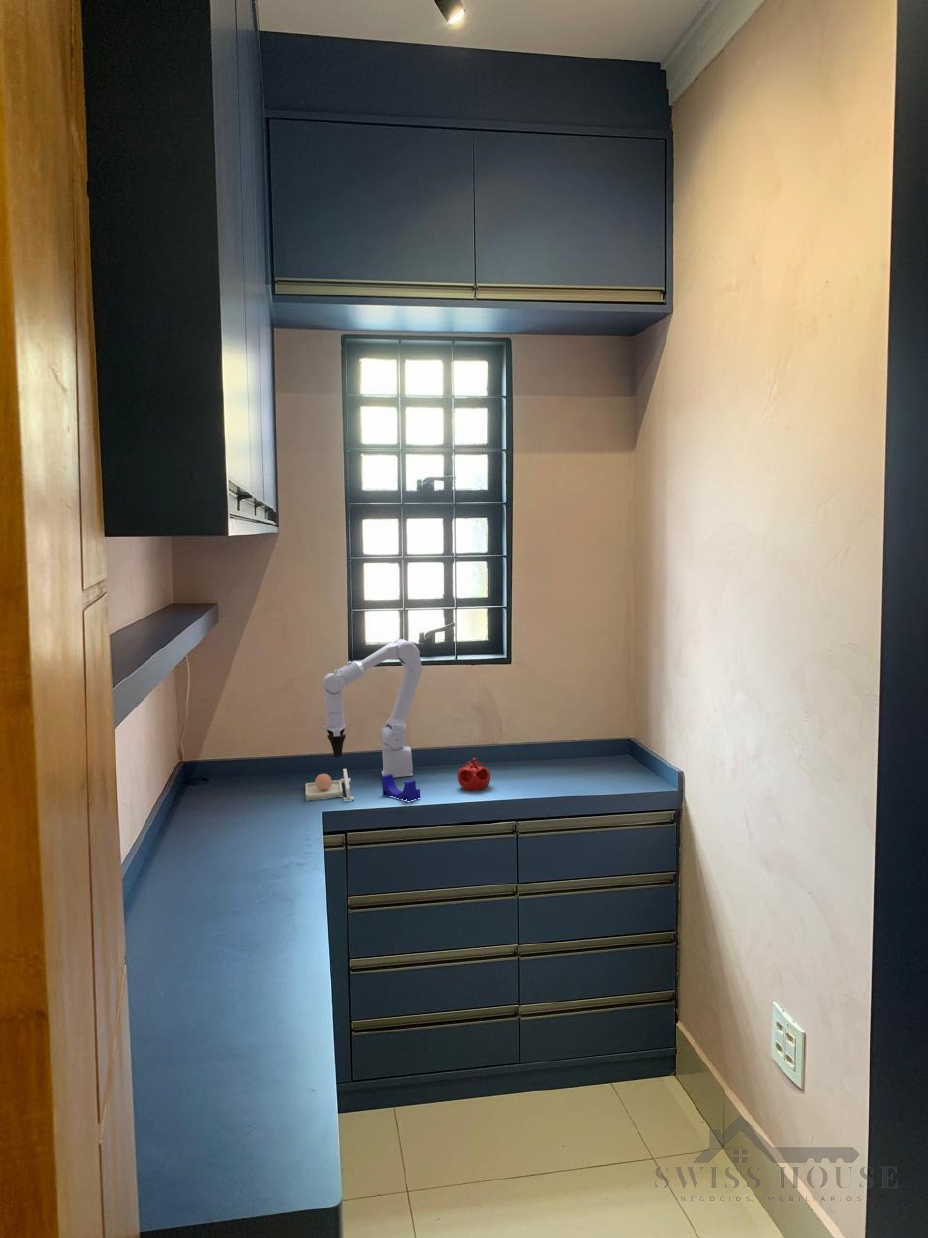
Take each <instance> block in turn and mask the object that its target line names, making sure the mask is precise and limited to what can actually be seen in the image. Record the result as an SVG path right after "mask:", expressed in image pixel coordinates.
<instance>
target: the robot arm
mask: <svg viewBox="0 0 928 1238" xmlns="http://www.w3.org/2000/svg"><path fill="white" fill-rule="evenodd" d="M420 655H421V653H420V650H419V648H418V647H417V646H416V644H415V643H414V642H411V641H408V640H406V639H403V638H398V639H396V640H394V641H392V642H389V643H387V644H386V645H385V646H383V647H381V648H379V649H377V650H376V651H375V652H373V653H372V654H370V655H368V656H367V657H365V658H364V659H362V660H361V661H357V660H353V661H351V660H349V661H347V662H346V665H344V666H342V667H340V668H339V669H334V670H333V672H331V673H330V672H329V673H327V674H326V675H325V676H324V678H322V682H321V685H322V687H323V689H324V706H325V720H326V721H325V723H326V725H325V724H324V725H322V729H323V730H326V731H327V734H328V735H327V739H328V740H329V742H330V745H331V749H332V753H333V757H334V758H341V757H342V755H343V747H344V741H345V739H346V736H347V735H346V734H344V732H345V729H346V727H347V726H346V722H345V710H344V709H345V706H344V695H343V690H344V688H345V687H347V686H349V685H350V684H352V683H354V682H356V681H357V680H359V679H361V678H363V677H364V675H365V671H368V670H369V669H371V668H373V667H375V666H377V665H379V664H381V663H382V662H385V661H387V660H394V661H395V660H399V661H400V662H399V663H401V665H402V667H403V668H404V671H405V672H404V674H403V677H402V680H401V683H400V686H399V690H398V693H397V696H396V699H395V703H394V705H393V708H392V711H391V715H390V716H389V718H388V719H387V720H386V722H385V724H384V726H383V727H382V728H381V729H380V732H379V738H380V740H381V742H383V745H382V746H381V750H382V766H383V770H381V775H382V776H384V775H388V774H392V775H393V779H394V778H403V777H404V778H405V777H411V776H414V773H413V771H414V770H413V767H414V765H413V759H412V758H413V756H412V755H413V754H412V748H411V746H405V744H406V730H407V719H408V715H409V713H410V710H411V707H412V703H413V700H414V697H415V695H416V691H417V688H418V684H419V681H420V679H421V675H422V672H423V666H422V660H421V657H420Z"/></svg>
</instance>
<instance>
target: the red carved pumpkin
mask: <svg viewBox="0 0 928 1238" xmlns="http://www.w3.org/2000/svg"><path fill="white" fill-rule="evenodd" d="M482 765H485V762H479V760H478V761H477V758H476V757H473V758H472V762H471V761H470V760H469V761H466V763H464V764H462V765H461V766H463V767H461V768H459V769H458V771H457V774H456V776H457V781H458V784H459V786H460V787H461V788H462V789H464V790H465V791H470V792H473V791H482V790H484V789H486V788H488V786H489V785H490V782H491V772H490V770H489V769H488V768H487V767H485V766H482Z"/></svg>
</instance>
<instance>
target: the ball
mask: <svg viewBox="0 0 928 1238" xmlns="http://www.w3.org/2000/svg"><path fill="white" fill-rule="evenodd" d="M332 781H333V780H332V778H331V776H330V775H328V774H327V773H320V774H318V775H317V776H316V778H315V780H314V782H315V785H316V787H317V788H318V789H320V790H327V789H328V788H329V787H330V786H331V783H332Z"/></svg>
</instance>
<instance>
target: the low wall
mask: <svg viewBox="0 0 928 1238" xmlns="http://www.w3.org/2000/svg"><path fill="white" fill-rule="evenodd" d="M342 770H343V778H341V779H340V780H341V783H342V784H344V791H345V796H347V797H345V796H343V798H342V799H344V800H353V799H354V797H355V796H351V791H350V790H351V788H350V783H351V781H352V780H351V777H348V771H347V768H343V769H342ZM344 800H343V801H344ZM354 800H355V799H354Z"/></svg>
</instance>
